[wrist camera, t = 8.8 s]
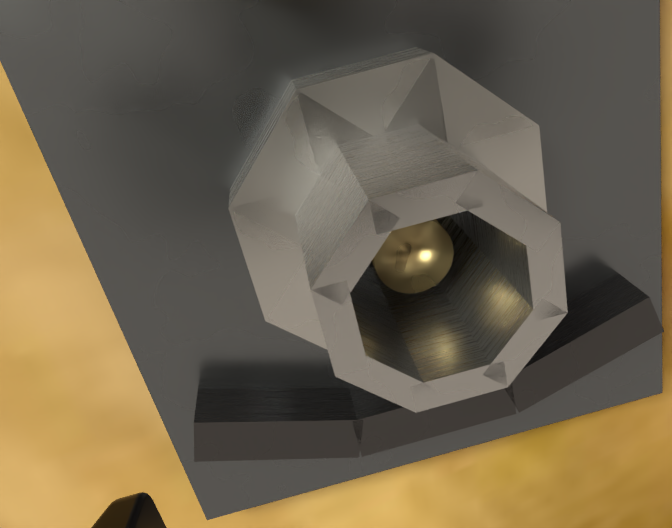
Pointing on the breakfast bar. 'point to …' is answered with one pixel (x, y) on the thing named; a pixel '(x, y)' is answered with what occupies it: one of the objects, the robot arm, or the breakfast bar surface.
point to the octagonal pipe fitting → (398, 212)
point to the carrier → (396, 252)
